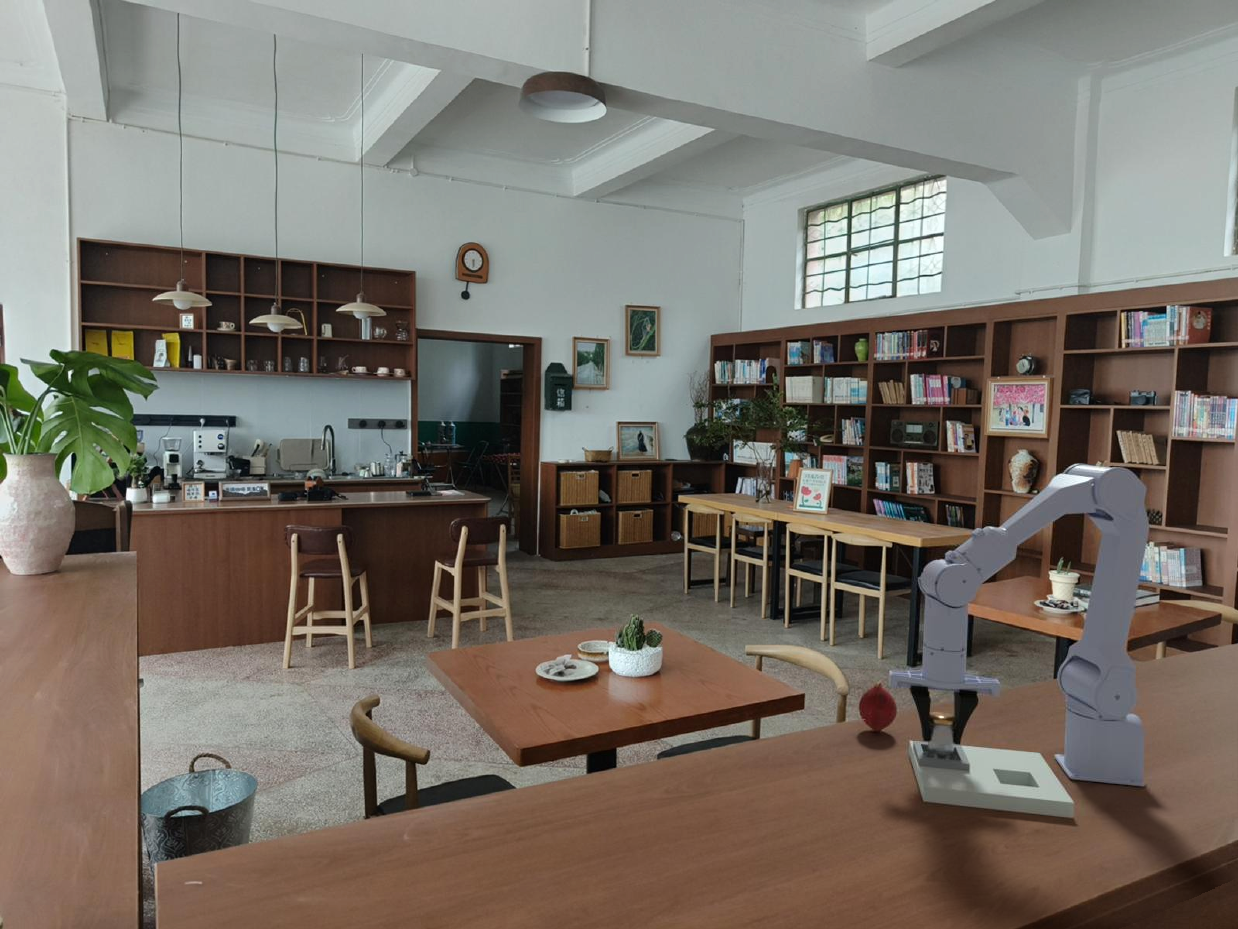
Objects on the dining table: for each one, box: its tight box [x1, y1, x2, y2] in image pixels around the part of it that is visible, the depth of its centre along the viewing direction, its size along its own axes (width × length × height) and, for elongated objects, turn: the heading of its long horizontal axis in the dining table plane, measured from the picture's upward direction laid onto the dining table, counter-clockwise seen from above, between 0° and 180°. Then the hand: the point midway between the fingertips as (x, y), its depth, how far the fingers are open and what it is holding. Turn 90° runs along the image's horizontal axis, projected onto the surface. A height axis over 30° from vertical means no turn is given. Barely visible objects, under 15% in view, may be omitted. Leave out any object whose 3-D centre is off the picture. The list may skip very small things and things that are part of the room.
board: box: [908, 740, 1075, 819], centre depth 114 cm, size 18×16×3 cm
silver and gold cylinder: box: [927, 711, 956, 760], centre depth 117 cm, size 4×4×7 cm
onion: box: [858, 681, 898, 732], centre depth 133 cm, size 6×6×8 cm
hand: (940, 740), depth 117 cm, fingers closed on silver and gold cylinder, 3 cm apart
